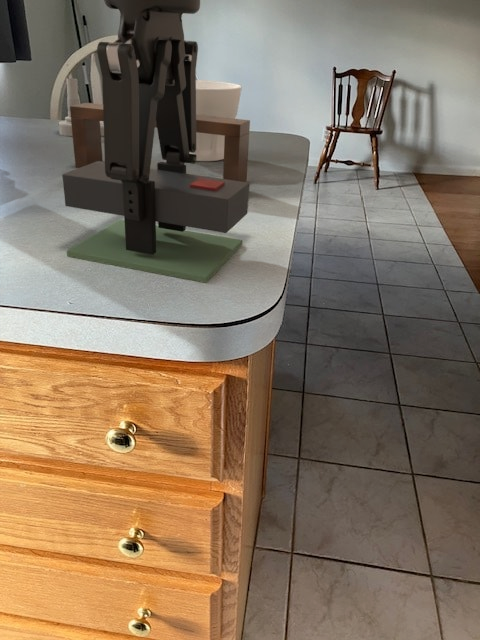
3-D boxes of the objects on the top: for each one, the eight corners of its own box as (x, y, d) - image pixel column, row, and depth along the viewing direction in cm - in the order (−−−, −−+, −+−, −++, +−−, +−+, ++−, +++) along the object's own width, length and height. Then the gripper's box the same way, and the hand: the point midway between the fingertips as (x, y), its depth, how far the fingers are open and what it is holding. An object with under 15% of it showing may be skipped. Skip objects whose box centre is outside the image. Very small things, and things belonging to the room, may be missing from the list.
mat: (66, 256, 50) (66, 250, 50) (120, 224, 59) (120, 219, 59) (206, 283, 47) (206, 276, 47) (242, 245, 55) (242, 239, 55)
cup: (167, 164, 84) (166, 87, 78) (161, 147, 94) (159, 78, 89) (245, 165, 86) (249, 90, 81) (231, 148, 97) (234, 81, 92)
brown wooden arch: (75, 173, 76) (69, 105, 72) (91, 167, 80) (86, 102, 75) (236, 197, 70) (240, 124, 66) (246, 189, 74) (250, 120, 69)
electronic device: (146, 84, 95) (56, 79, 90) (146, 142, 99) (60, 140, 94) (140, 81, 99) (54, 76, 94) (140, 136, 104) (58, 135, 99)
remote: (65, 206, 50) (61, 171, 49) (99, 190, 56) (97, 158, 54) (226, 233, 46) (228, 196, 45) (247, 213, 52) (249, 179, 50)
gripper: (136, -66, 32) (147, 284, 44) (237, -34, 48) (226, 216, 59) (29, -68, 34) (66, 268, 45) (161, -37, 50) (164, 206, 61)
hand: (157, 238), depth 52 cm, fingers closed on remote, 6 cm apart
